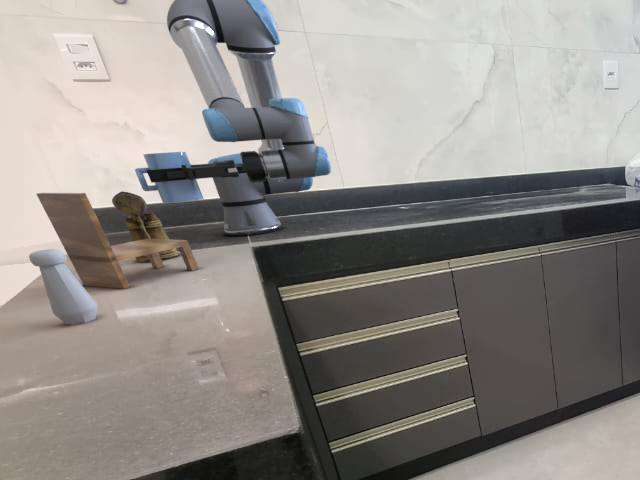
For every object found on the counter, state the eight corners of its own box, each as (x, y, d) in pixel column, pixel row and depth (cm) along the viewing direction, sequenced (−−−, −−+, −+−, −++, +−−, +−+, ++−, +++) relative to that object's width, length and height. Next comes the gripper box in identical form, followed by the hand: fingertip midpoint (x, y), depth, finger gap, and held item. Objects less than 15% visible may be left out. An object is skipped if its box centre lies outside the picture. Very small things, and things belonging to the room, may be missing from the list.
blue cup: (203, 197, 135) (185, 151, 131) (203, 199, 130) (185, 151, 125) (150, 203, 130) (129, 155, 125) (147, 205, 124) (126, 155, 119)
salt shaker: (103, 312, 100) (68, 244, 95) (104, 319, 97) (67, 249, 91) (60, 321, 97) (21, 251, 91) (59, 329, 93) (18, 256, 87)
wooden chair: (160, 266, 133) (123, 183, 124) (199, 268, 129) (163, 183, 120) (83, 285, 119) (35, 193, 110) (124, 288, 115) (78, 193, 106)
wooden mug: (131, 267, 132) (96, 193, 125) (139, 257, 143) (107, 188, 135) (176, 261, 137) (145, 189, 129) (180, 251, 147) (152, 184, 139)
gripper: (271, 184, 132) (154, 195, 120) (264, 178, 147) (160, 187, 135) (260, 152, 128) (139, 160, 116) (254, 149, 144) (147, 156, 132)
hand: (150, 175), depth 126 cm, fingers closed on blue cup, 8 cm apart
